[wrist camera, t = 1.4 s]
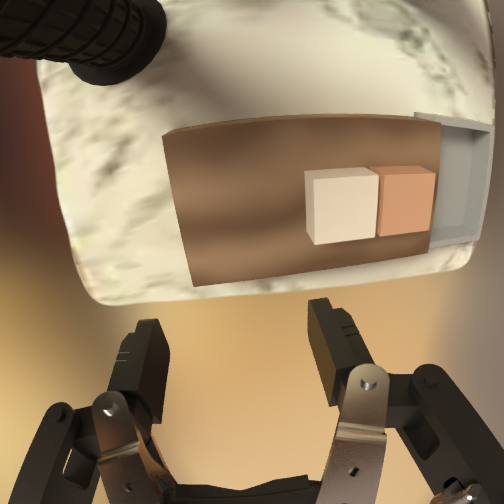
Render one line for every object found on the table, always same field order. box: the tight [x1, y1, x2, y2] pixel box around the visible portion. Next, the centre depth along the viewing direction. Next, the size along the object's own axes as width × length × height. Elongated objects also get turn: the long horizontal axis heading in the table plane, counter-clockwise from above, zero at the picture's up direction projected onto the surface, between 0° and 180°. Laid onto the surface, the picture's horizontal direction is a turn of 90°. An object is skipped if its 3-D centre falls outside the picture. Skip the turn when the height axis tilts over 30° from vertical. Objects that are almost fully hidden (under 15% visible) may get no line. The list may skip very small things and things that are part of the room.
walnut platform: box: [162, 114, 441, 287], centre depth 25 cm, size 13×23×5 cm, turn 96°
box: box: [414, 112, 494, 249], centre depth 26 cm, size 14×10×4 cm
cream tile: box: [304, 167, 379, 245], centre depth 22 cm, size 5×5×2 cm
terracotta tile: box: [370, 166, 436, 237], centre depth 22 cm, size 5×5×2 cm
